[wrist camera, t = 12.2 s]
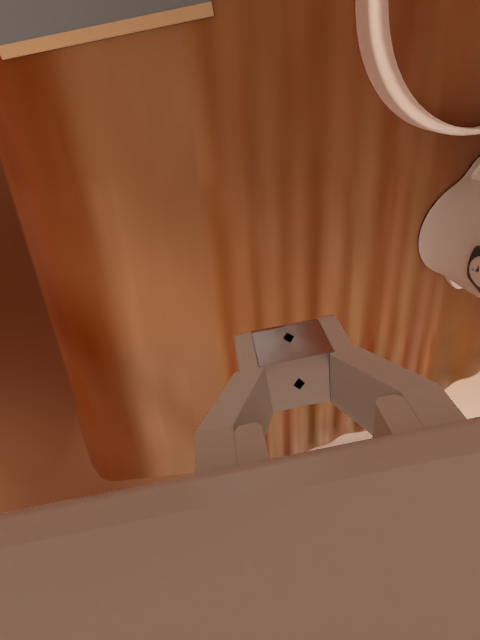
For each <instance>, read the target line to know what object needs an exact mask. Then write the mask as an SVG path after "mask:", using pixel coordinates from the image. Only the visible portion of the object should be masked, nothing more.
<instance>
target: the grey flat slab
mask: <svg viewBox="0 0 480 640" xmlns="http://www.w3.org/2000/svg"><path fill="white" fill-rule="evenodd" d="M213 16H214V13H213V7H212V1H211V0H0V56H1V58H2V60H7V59H12V58H17V57H21V56H26V55H31V54H36V53H41V52H45V51H50V50H55V49H60V48H65V47H69V46H74V45H79V44H84V43H89V42H93V41H98V40H103V39H108V38H113V37H117V36H122V35H127V34H132V33H137V32H141V31H146V30H151V29H156V28H161V27H165V26H170V25H175V24H180V23H185V22H189V21H194V20H199V19H204V18H208V17H213Z"/></svg>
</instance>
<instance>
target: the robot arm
mask: <svg viewBox="0 0 480 640" xmlns="http://www.w3.org/2000/svg"><path fill="white" fill-rule="evenodd" d="M419 253H420V256H421V259H422V261H423V262H424V264H425V265H426V266H427V267H428V268H429V269H431V270H432V271H434V272H436V273H439V274H441V275H443V276H444V277H445V278H446V280H447V281H448V283H449V284H450V285H451V286H453V287H454V288H456V289H461V288H464V289H465V290H467V291H469V292H470V293H472V294H474V295H475V296H477V297H479V298H480V157H479V158H478V159H477V160H476V161H475V162H474V163H473V165H472V166H471V167H470V169H469V170H468V171H467V173H466V174H465V176H464V177H463V178H462V179H461V180H460V181H459V182H457V183H456V184H455V185H454V186H452V187H451V188H450V189H449V190H448V191H446V192H445V193H444V194H443V195H442V196H441V197H440V198H439V199H438V201H437V202H436V203H435V204H434V205H433V207H432V208H431V210H430V211H429V213H428V215H427V216H426V218H425V220H424V222H423V225H422V228H421V231H420V235H419ZM234 341H235V348H236V354H237V360H238V366H239V372H235V373H234V374H233V376H232V377H231V379H230V380H229V382H228V383H227V385H226V386H225V388H224V389H223V391H222V393H221V394H220V396H219V397H218V399H217V400H216V402H215V403H214V405H213V406H212V408H211V409H210V411H209V413H208V414H207V416H206V417H205V419H204V420H203V422H202V423H201V425H200V426H199V428H198V429H197V431H196V433H195V474H194V475H190V476H185V477H180V478H175V479H170V480H165V481H160V482H156V483H150V484H145V485H140V486H136V487H130V488H125V489H121V490H116V491H111V492H106V493H101V494H96V495H91V496H86V497H81V498H76V499H71V500H66V501H61V502H56V503H51V504H46V505H41V506H36V507H32V508H27V509H22V510H17V511H12V512H8V513H2V514H0V640H480V417H476V418H471V419H466V418H465V416H464V415H463V414H462V413H461V411H460V410H459V409H458V408H457V406H456V405H455V404H454V403H453V401H452V400H451V399H450V398H449V396H448V395H447V394H446V393H445V391H444V390H443V389H442V388H441V386H440V385H439V384H437V383H435V382H433V381H431V380H429V379H427V378H425V377H422V376H420V375H418V374H416V373H414V372H412V371H410V370H407V369H405V368H403V367H401V366H399V365H397V364H395V363H393V362H390V361H388V360H386V359H384V358H382V357H380V356H378V355H375V354H373V353H371V352H369V351H367V350H365V349H363V348H361V347H357V348H354V346H353V345H352V343H351V341H350V340H349V338H348V336H347V335H346V333H345V331H344V330H343V328H342V326H341V325H340V323H339V322H338V320H337V318H336V317H335V315H333V314H332V315H327V316H323V317H319V318H316V319H312V320H308V321H303V322H298V323H293V324H289V325H282V326H277V327H271V328H266V329H261V330H255V331H251V332H245V333H240V334H235V335H234ZM328 401H331V403H332V404H334V405H335V406H336V407H337V408H339V409H340V410H341V411H343V412H344V413H345V414H346V415H348V416H349V417H350V418H351V419H353V420H354V421H355V422H356V423H358V424H359V425H360V426H362V427H363V428H364V429H365V430H367V431H368V432H369V433H370V434H372V435H373V437H372V439H367V440H363V441H357V442H352V443H348V444H343V445H338V446H333V447H328V448H323V449H318V450H314V451H308V452H303V453H298V454H293V455H288V456H283V457H278V458H273V459H269V457H268V452H267V448H266V443H265V438H264V437H265V435H266V432H267V429H268V427H269V424H270V422H271V419H272V416H273V413H274V412H278V411H282V410H287V409H291V408H295V407H300V406H305V405H310V404H316V403H322V402H328Z"/></svg>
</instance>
